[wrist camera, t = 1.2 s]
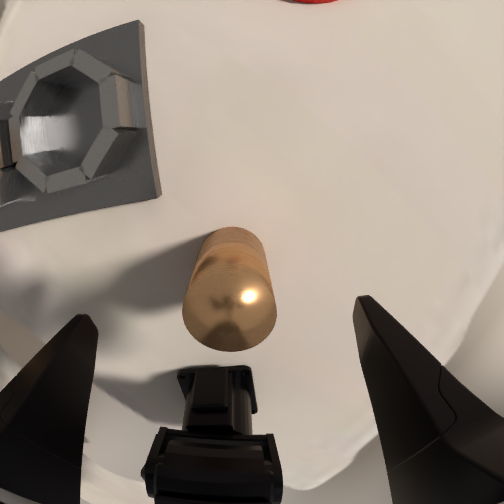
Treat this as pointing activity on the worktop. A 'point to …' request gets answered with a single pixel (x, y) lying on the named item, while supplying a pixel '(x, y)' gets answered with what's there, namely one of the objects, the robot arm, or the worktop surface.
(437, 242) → the worktop surface
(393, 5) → the worktop surface
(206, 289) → the brass peg
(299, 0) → the tow hook
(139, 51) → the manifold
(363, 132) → the worktop surface
